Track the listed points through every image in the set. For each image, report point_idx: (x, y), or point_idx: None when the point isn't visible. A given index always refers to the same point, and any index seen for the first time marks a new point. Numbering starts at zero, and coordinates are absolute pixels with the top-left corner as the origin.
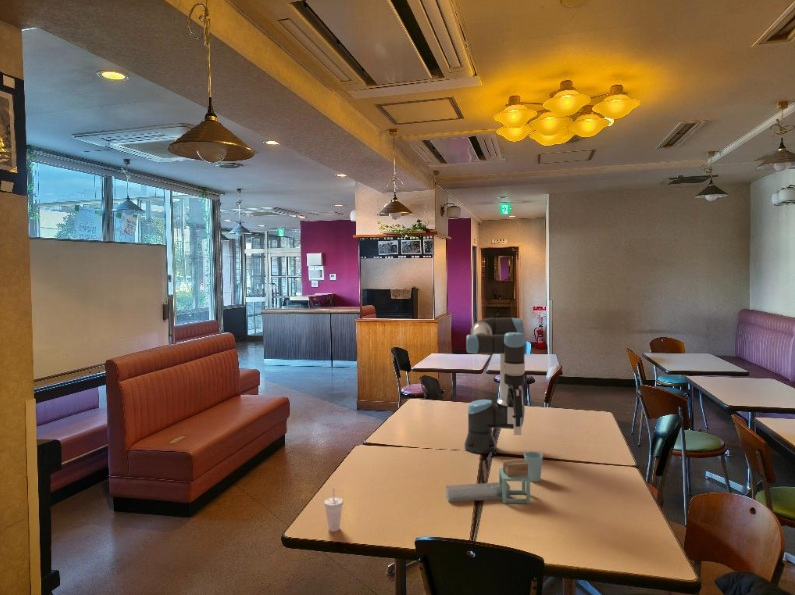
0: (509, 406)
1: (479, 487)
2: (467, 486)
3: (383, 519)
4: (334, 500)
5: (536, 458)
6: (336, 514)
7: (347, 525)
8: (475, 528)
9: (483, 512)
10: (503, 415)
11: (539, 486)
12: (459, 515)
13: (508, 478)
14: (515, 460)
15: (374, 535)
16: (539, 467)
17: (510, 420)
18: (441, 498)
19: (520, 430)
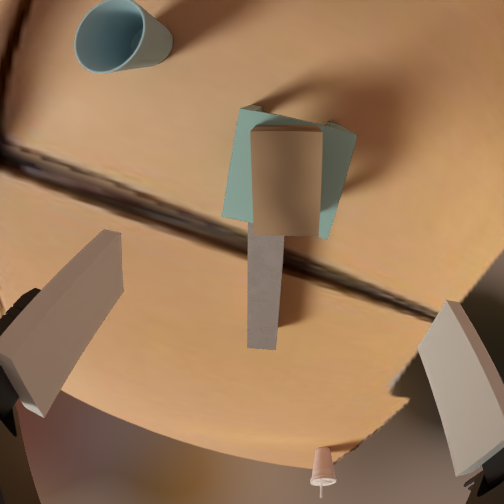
0: (13, 401)
1: (276, 277)
2: (262, 305)
3: (317, 416)
4: (323, 482)
5: (146, 28)
6: (333, 468)
7: (318, 442)
8: (413, 307)
9: (354, 271)
10: None
11: (211, 40)
12: (349, 322)
13: (332, 219)
14: (269, 178)
15: (360, 424)
16: (155, 21)
17: (107, 292)
18: None
19: (469, 334)
